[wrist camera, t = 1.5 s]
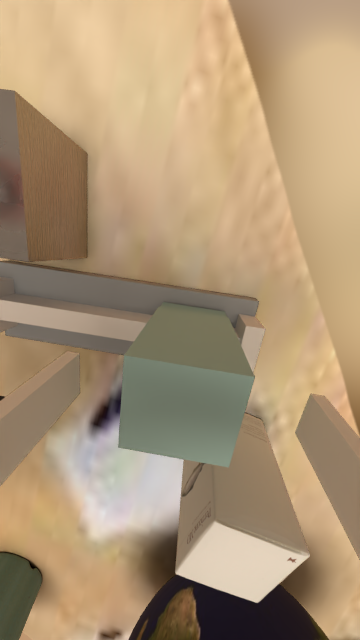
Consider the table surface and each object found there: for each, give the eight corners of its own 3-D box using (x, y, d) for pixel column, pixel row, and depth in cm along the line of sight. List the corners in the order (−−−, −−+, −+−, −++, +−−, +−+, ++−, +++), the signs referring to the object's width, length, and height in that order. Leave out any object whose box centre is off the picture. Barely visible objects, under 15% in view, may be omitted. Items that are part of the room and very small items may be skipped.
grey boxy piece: (2, 245, 22) (-98, 242, 15) (-10, 140, 20) (-142, 71, 12) (87, 257, 22) (28, 261, 15) (87, 153, 19) (14, 90, 12)
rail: (16, 330, 25) (-26, 349, 21) (8, 260, 23) (-41, 263, 18) (237, 367, 24) (246, 395, 20) (255, 298, 22) (270, 311, 17)
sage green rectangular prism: (157, 351, 23) (118, 447, 12) (163, 299, 21) (123, 355, 10) (214, 361, 22) (228, 467, 12) (225, 309, 21) (254, 377, 10)
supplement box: (208, 395, 26) (215, 520, 14) (263, 419, 26) (316, 559, 14) (183, 438, 28) (171, 576, 16) (234, 459, 29) (259, 609, 17)
